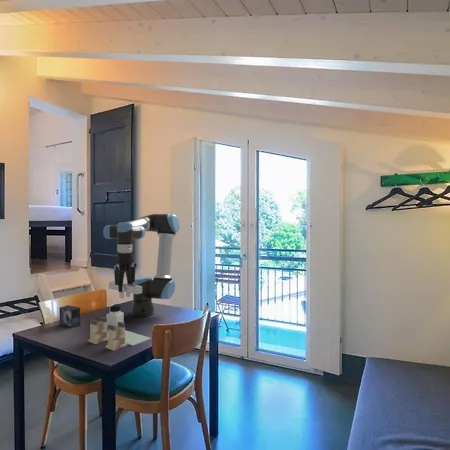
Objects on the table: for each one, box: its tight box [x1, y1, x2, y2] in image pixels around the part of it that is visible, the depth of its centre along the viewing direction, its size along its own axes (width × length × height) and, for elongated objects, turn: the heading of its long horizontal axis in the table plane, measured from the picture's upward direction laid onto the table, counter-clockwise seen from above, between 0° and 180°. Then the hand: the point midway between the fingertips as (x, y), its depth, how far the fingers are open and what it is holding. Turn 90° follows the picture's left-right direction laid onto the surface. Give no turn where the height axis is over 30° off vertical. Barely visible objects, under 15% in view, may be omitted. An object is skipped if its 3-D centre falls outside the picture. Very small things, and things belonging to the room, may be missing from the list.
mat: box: [107, 329, 152, 347], centre depth 183 cm, size 12×26×1 cm, turn 55°
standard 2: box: [105, 322, 128, 352], centre depth 170 cm, size 8×6×11 cm
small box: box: [58, 304, 81, 329], centre depth 201 cm, size 11×6×10 cm, turn 62°
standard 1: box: [87, 316, 108, 345], centre depth 178 cm, size 8×6×11 cm
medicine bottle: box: [105, 303, 125, 328], centre depth 202 cm, size 7×7×12 cm
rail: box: [108, 280, 142, 295], centre depth 182 cm, size 22×4×4 cm, turn 55°
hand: (125, 297), depth 182 cm, fingers closed on rail, 3 cm apart
